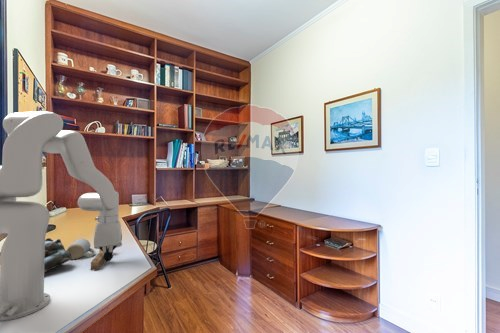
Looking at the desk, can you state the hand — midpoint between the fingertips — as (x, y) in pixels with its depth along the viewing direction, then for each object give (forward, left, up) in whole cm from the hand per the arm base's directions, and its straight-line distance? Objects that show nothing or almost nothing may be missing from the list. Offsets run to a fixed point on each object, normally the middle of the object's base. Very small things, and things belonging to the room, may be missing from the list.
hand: (108, 260), depth 103 cm
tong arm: (+1, +3, -1) cm, 3 cm away
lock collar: (+11, +3, -1) cm, 12 cm away
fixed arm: (+3, +4, -1) cm, 5 cm away
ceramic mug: (+13, +14, -2) cm, 19 cm away
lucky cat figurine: (-1, +22, -1) cm, 22 cm away
